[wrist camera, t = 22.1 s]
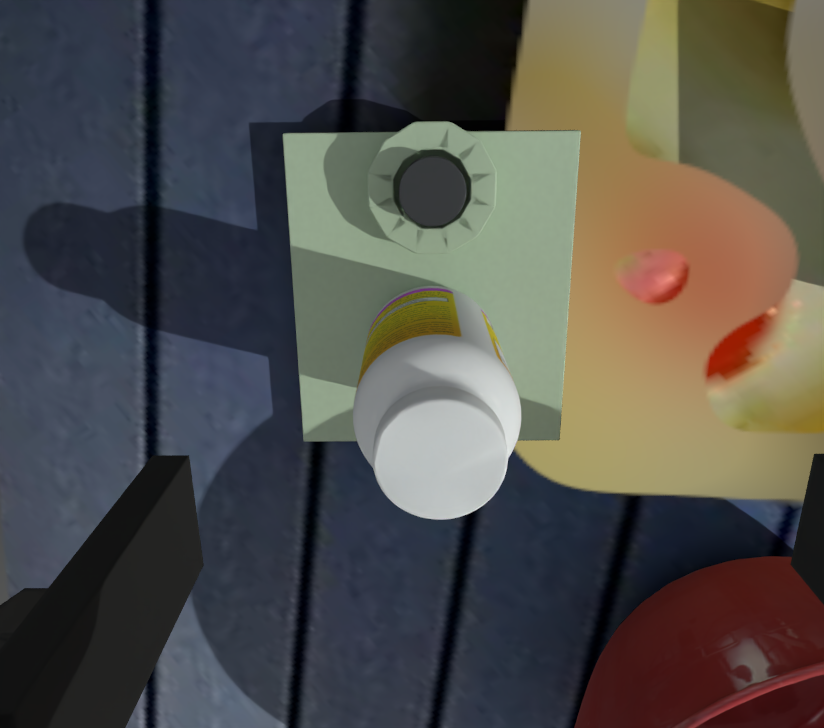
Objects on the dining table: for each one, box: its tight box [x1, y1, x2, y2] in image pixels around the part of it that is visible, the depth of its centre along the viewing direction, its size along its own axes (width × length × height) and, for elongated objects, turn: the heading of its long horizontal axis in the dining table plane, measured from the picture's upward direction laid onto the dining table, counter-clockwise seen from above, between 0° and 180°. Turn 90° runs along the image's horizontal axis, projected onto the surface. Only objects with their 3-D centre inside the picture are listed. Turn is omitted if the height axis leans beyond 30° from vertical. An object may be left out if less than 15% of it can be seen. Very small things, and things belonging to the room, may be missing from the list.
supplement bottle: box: [353, 286, 521, 519], centre depth 29 cm, size 7×7×13 cm
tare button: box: [399, 155, 466, 226], centre depth 31 cm, size 3×3×2 cm
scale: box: [283, 121, 581, 441], centre depth 34 cm, size 16×14×3 cm
